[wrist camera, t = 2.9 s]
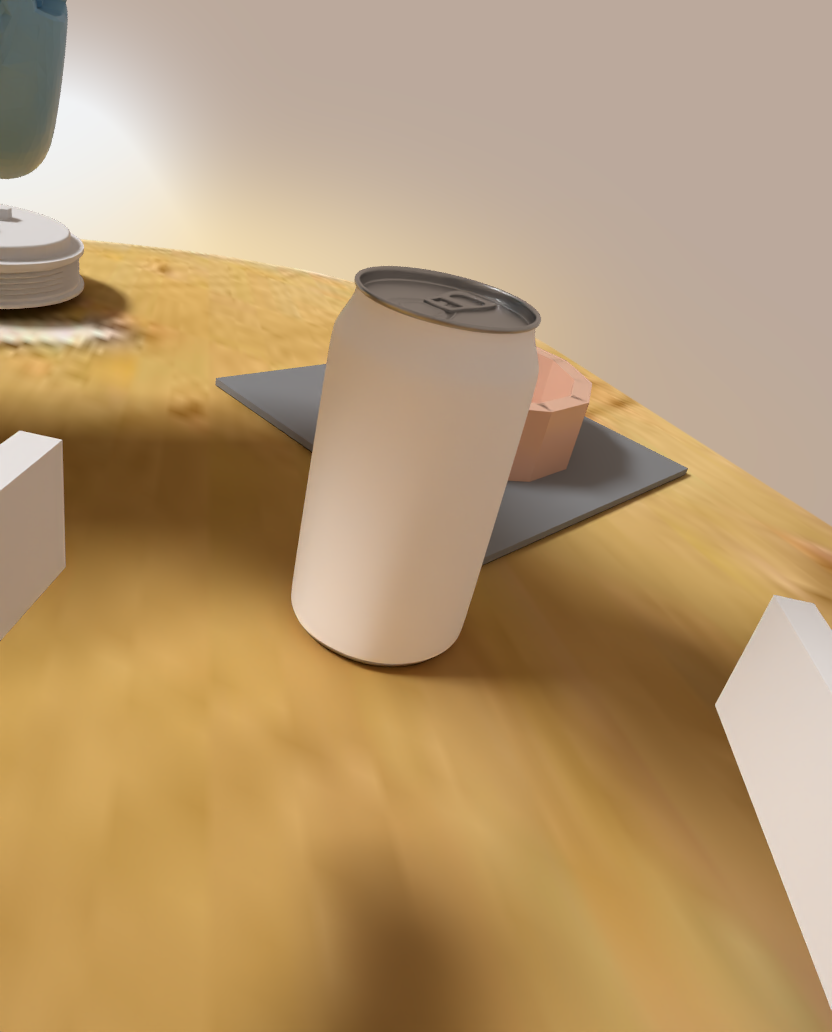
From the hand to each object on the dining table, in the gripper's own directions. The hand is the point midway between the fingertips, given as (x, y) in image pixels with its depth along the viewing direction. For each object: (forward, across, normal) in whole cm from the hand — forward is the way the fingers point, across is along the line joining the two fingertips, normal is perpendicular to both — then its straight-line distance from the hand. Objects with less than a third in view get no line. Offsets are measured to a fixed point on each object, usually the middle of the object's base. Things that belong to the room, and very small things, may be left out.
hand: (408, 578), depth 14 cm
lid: (+36, -30, -9) cm, 47 cm away
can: (+11, 0, -10) cm, 15 cm away
